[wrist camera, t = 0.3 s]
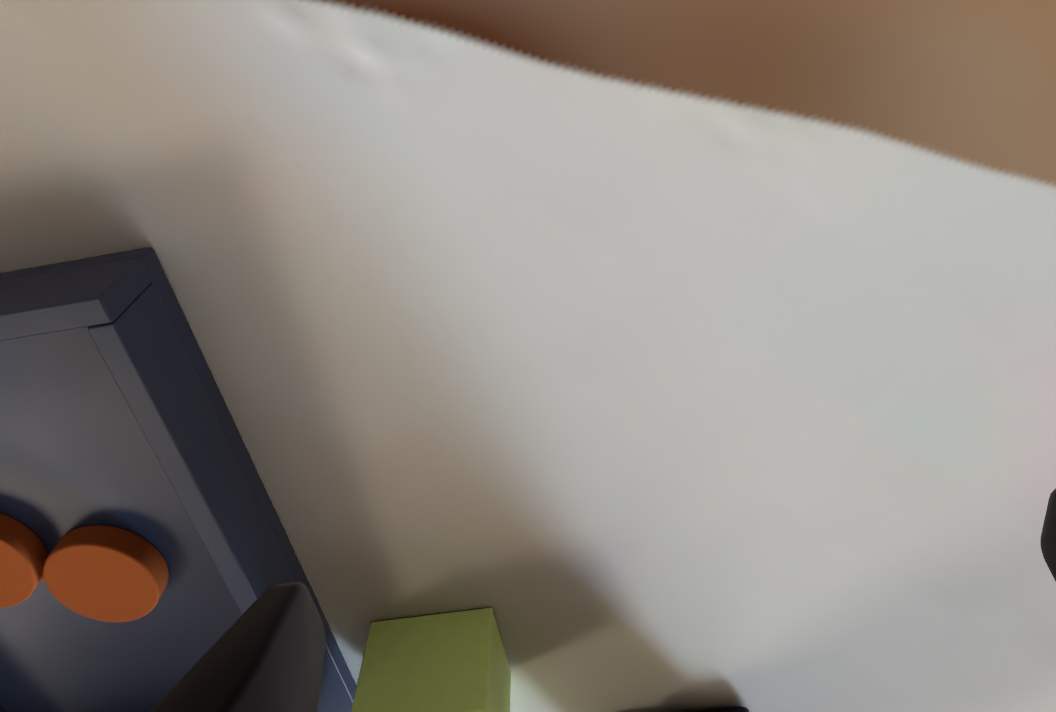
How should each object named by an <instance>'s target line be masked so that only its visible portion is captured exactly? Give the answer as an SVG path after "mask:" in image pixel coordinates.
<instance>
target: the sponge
mask: <svg viewBox="0 0 1056 712" xmlns="http://www.w3.org/2000/svg"><path fill="white" fill-rule="evenodd" d="M510 683H511V670H510V667H509V664H508V660H507V657H506V654H505V650H504V647H503V643H502V640H501V637H500V633H499V630H498V627H497V623H496V620H495V617H494V613H493V610H492V608H485V609H477V610H468V611H460V612H452V613H443V614H435V615H427V616H419V617H410V618H402V619H394V620H385V621H377V622H372V623H371V624H370V629H369V633H368V638H367V642H366V647H365V652H364V656H363V661H362V665H361V670H360V674H359V679H358V683H357V688H356V692H355V697H354V702H353V706H352V711H351V712H510Z"/></svg>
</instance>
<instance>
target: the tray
mask: <svg viewBox="0 0 1056 712" xmlns="http://www.w3.org/2000/svg"><path fill="white" fill-rule="evenodd" d="M0 513H2V514H4V515H7V516H9V517H11V518H13V519H15V520H17V521H19V522H21V523H22V524H24V525H25V526H26V527H28V528H29V529H30V530H31V531H33V532H34V533H35V534H36V535H37V536H38V537H39V539H40V540H41V541H42V543H43V544H44V546H45V548H46V550H47V552H48V556H49V555H50V553H51V552H52V551H53V549H54V548H55V546H56V545H57V544H58V542H59V541H60V539H61V538H62V537H63V536H64V535H66V534H67V533H69V532H70V531H72V530H74V529H77V528H80V527H83V526H89V525H106V526H113V527H118V528H121V529H125V530H127V531H130V532H133V533H135V534H137V535H139V536H140V537H142V538H144V539H145V540H147V541H148V542H149V543H151V544H152V545H153V546H154V547H155V548H156V549H157V550H158V551H159V552H160V553H161V555H162V556H163V558H164V559H165V561H166V563H167V567H168V572H169V578H168V583H167V585H166V587H165V589H164V591H163V593H162V595H161V597H160V599H159V601H158V603H157V604H156V606H155V607H154V609H153V610H152V611H150V612H149V613H148V614H147V615H145V616H143V617H141V618H139V619H136V620H133V621H127V622H105V621H99V620H95V619H91V618H88V617H85V616H83V615H80V614H78V613H76V612H74V611H72V610H70V609H69V608H67V607H66V606H64V605H63V604H62V603H60V602H59V601H58V600H57V599H56V598H55V597H54V596H53V595H52V593H51V592H50V591H49V589H48V588H47V586H46V584H45V581H44V577H43V579H42V580H41V581H40V583H39V584H38V586H37V587H36V589H35V590H34V591H33V593H32V594H31V595H30V596H29V597H28V598H27V599H26V600H24V601H23V602H21V603H19V604H17V605H14V606H10V607H4V608H0V712H150V711H151V710H152V709H153V708H154V707H155V706H156V705H157V704H158V703H159V702H160V701H161V700H162V699H163V697H164V696H165V695H166V694H167V693H168V692H169V691H170V690H171V689H172V688H173V687H174V686H175V685H176V684H177V683H178V682H179V681H180V680H181V679H182V677H183V676H184V675H185V674H186V673H187V672H188V671H189V670H190V669H191V668H192V667H193V666H194V665H195V664H196V663H197V662H198V661H199V660H200V659H201V657H202V656H203V655H204V654H205V653H206V652H207V651H208V650H209V649H210V648H211V647H212V646H213V645H214V644H215V643H216V642H217V641H218V640H219V639H220V637H221V636H222V635H223V634H224V633H225V632H226V631H227V630H228V629H229V628H230V627H231V626H232V625H233V624H234V623H235V622H236V621H237V620H238V619H239V617H240V616H241V615H242V614H243V613H244V612H245V611H246V610H247V609H248V608H249V607H250V606H251V605H252V604H253V603H254V602H255V601H256V600H257V599H258V597H259V596H260V595H261V594H262V593H263V592H264V591H265V590H266V589H268V588H269V587H270V586H273V585H278V584H285V583H293V582H300V583H303V584H304V585H305V586H306V587H307V589H308V591H309V593H310V595H311V598H312V600H313V602H314V604H315V606H316V608H317V611H318V613H319V615H320V617H321V619H322V622H323V624H324V628H325V633H326V646H325V655H324V664H323V673H322V682H321V691H320V700H319V709H318V712H351V711H352V706H353V702H354V697H355V692H356V688H357V686H356V684H355V682H354V680H353V678H352V676H351V673H350V671H349V669H348V667H347V665H346V663H345V661H344V658H343V656H342V654H341V652H340V650H339V648H338V645H337V643H336V641H335V639H334V637H333V635H332V633H331V630H330V628H329V626H328V624H327V622H326V620H325V618H324V615H323V613H322V611H321V609H320V607H319V605H318V602H317V600H316V598H315V596H314V594H313V592H312V590H311V587H310V585H309V583H308V581H307V579H306V577H305V574H304V572H303V570H302V568H301V566H300V564H299V562H298V559H297V557H296V555H295V553H294V551H293V549H292V547H291V544H290V542H289V540H288V538H287V536H286V534H285V531H284V529H283V527H282V525H281V523H280V521H279V519H278V516H277V514H276V512H275V510H274V508H273V506H272V503H271V501H270V499H269V497H268V495H267V493H266V491H265V488H264V486H263V484H262V482H261V480H260V478H259V476H258V473H257V471H256V469H255V467H254V465H253V463H252V460H251V458H250V456H249V454H248V452H247V450H246V448H245V445H244V443H243V441H242V439H241V437H240V435H239V433H238V430H237V428H236V426H235V424H234V422H233V420H232V417H231V415H230V413H229V411H228V409H227V407H226V405H225V402H224V400H223V398H222V396H221V394H220V392H219V389H218V387H217V385H216V383H215V381H214V379H213V377H212V374H211V372H210V370H209V368H208V366H207V364H206V362H205V359H204V357H203V355H202V353H201V351H200V349H199V346H198V344H197V342H196V340H195V338H194V336H193V334H192V331H191V329H190V327H189V325H188V323H187V321H186V318H185V316H184V314H183V312H182V310H181V308H180V306H179V303H178V301H177V299H176V297H175V295H174V293H173V291H172V288H171V286H170V284H169V282H168V280H167V278H166V275H165V273H164V271H163V269H162V267H161V265H160V263H159V260H158V258H157V256H156V254H155V252H154V250H153V248H144V249H138V250H132V251H127V252H121V253H115V254H109V255H104V256H98V257H92V258H86V259H81V260H75V261H69V262H64V263H58V264H52V265H46V266H41V267H35V268H29V269H23V270H18V271H12V272H6V273H0Z"/></svg>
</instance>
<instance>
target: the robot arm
mask: <svg viewBox="0 0 1056 712" xmlns="http://www.w3.org/2000/svg"><path fill="white" fill-rule="evenodd" d="M1041 549H1042V553H1043V556H1044V559H1045V561H1046V563H1047V565H1048V567H1049V569H1050V571H1051V573H1052V575H1053V577H1054V579H1055V581H1056V489H1055V490H1054V491H1053V492H1052V493H1051V495H1050V498H1049V502H1048V506H1047V511H1046V516H1045V520H1044V525H1043V530H1042V534H1041ZM325 646H326V633H325V628H324V624H323V622H322V619H321V617H320V615H319V613H318V611H317V608H316V606H315V604H314V602H313V600H312V598H311V595H310V593H309V591H308V589H307V587H306V586H305V585H304V584H303V583H300V582H293V583H285V584H278V585H273V586H270V587H269V588H268V589H266V590H265V591H264V592H263V593H262V594H261V595H260V596H259V597H258V599H257V600H256V601H255V602H254V603H253V604H252V605H251V606H250V607H249V608H248V609H247V610H246V611H245V612H244V613H243V614H242V615H241V616H240V617H239V619H238V620H237V621H236V622H235V623H234V624H233V625H232V626H231V627H230V628H229V629H228V630H227V631H226V632H225V633H224V634H223V635H222V636H221V637H220V639H219V640H218V641H217V642H216V643H215V644H214V645H213V646H212V647H211V648H210V649H209V650H208V651H207V652H206V653H205V654H204V655H203V656H202V657H201V659H200V660H199V661H198V662H197V663H196V664H195V665H194V666H193V667H192V668H191V669H190V670H189V671H188V672H187V673H186V674H185V675H184V676H183V677H182V679H181V680H180V681H179V682H178V683H177V684H176V685H175V686H174V687H173V688H172V689H171V690H170V691H169V692H168V693H167V694H166V695H165V696H164V697H163V699H162V700H161V701H160V702H159V703H158V704H157V705H156V706H155V707H154V708H153V709H152V710H151V711H150V712H318V709H319V700H320V691H321V682H322V673H323V664H324V655H325ZM689 712H749V710H748V709H747V708H745V707H742V706H737V707H727V708H718V709H708V710H699V711H689Z"/></svg>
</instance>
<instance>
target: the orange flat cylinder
mask: <svg viewBox="0 0 1056 712" xmlns="http://www.w3.org/2000/svg"><path fill="white" fill-rule="evenodd" d="M43 577H44V581H45V584H46V586H47V588H48V589H49V591H50V592H51V593H52V595H53V596H54V597H55V598H56V599H57V600H58V601H59V602H60V603H62V604H63V605H64V606H66V607H67V608H69V609H70V610H72V611H74V612H76V613H78V614H80V615H83V616H85V617H88V618H91V619H95V620H99V621H105V622H127V621H133V620H136V619H139V618H141V617H143V616H145V615H147V614H148V613H149V612H150V611H152V610H153V609H154V607H155V606H156V604H157V603H158V601H159V599H160V597H161V595H162V593H163V591H164V589H165V587H166V585H167V583H168V578H169V572H168V567H167V563H166V561H165V559H164V558H163V556H162V555H161V553H160V552H159V551H158V550H157V549H156V548H155V547H154V546H153V545H152V544H151V543H149V542H148V541H147V540H145V539H144V538H142V537H140V536H139V535H137V534H135V533H133V532H130V531H127V530H125V529H121V528H118V527H113V526H106V525H89V526H83V527H80V528H77V529H74V530H72V531H70V532H69V533H67V534H66V535H64V536H63V537H62V538H61V539H60V541H59V542H58V544H57V545H56V546H55V548H54V549H53V551H52V552H51V553H50V555H49V556H48V558H47V559H46V561H45V563H44V568H43Z"/></svg>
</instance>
